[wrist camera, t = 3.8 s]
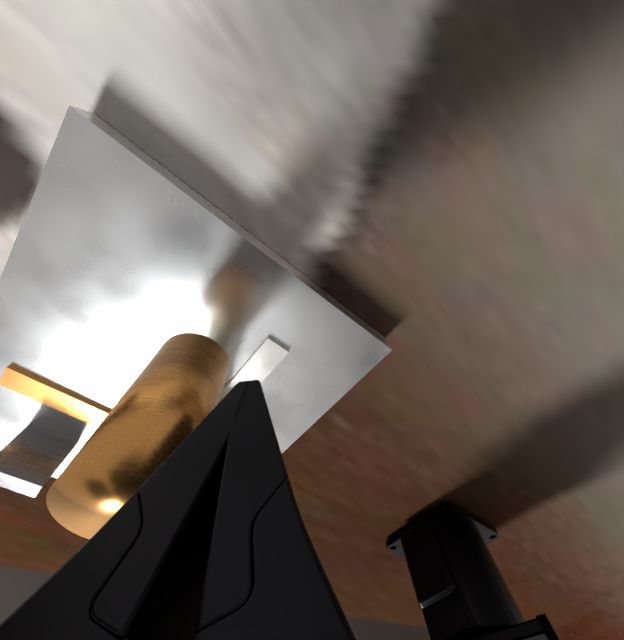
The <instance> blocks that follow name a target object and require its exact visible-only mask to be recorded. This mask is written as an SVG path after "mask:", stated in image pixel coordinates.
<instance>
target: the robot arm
mask: <svg viewBox="0 0 624 640" xmlns="http://www.w3.org/2000/svg"><path fill="white" fill-rule="evenodd" d="M138 491H139V492H135V493H134V494H133V495H132V496H131V497H130V498H129V499H128V500H127V501H126V503H125V504H124V505H123V506H122V507H121V508H120V509H119V510H118V511H117V512H116V513H115V514H114V515H113V516H112V517H111V518H110V519H109V520H108V521H107V522H106V523H105V524H104V525H103V526H102V528H101V529H100V530H99V531H98V532H97V533H96V534H95V535H94V536H93V537H92V538H91V539H90V540H89V541H88V542H86V543H85V544H84V545H83V546H82V547H81V548H80V549H79V550H78V551H77V552H76V553H75V554H74V555H73V556H72V557H71V558H70V559H69V560H68V561H67V562H66V563H65V564H64V565H63V566H62V567H61V568H60V569H58V570H57V571H56V572H55V573H54V574H53V575H52V576H51V577H50V578H49V579H48V580H47V581H46V582H45V583H44V584H43V585H41V586H40V587H39V588H38V589H37V590H36V591H35V592H34V593H33V594H32V595H31V596H30V597H29V598H28V599H27V600H26V601H24V603H22V604H21V605H20V606H19V607H18V608H17V609H16V610H15V611H14V612H13V613H12V614H11V615H10V616H9V617H8V618H7V619H5V620H4V621H3V622H2V623H1V624H0V640H356V638H355V636H354V634H353V632H352V630H351V628H350V626H349V623H348V621H347V619H346V617H345V615H344V613H343V610H342V608H341V606H340V604H339V602H338V599H337V597H336V595H335V593H334V591H333V588H332V586H331V584H330V582H329V580H328V578H327V575H326V573H325V571H324V569H323V567H322V564H321V562H320V560H319V558H318V556H317V553H316V551H315V549H314V547H313V544H312V542H311V540H310V537H309V535H308V533H307V530H306V528H305V525H304V523H303V521H302V518H301V515H300V512H299V509H298V506H297V503H296V500H295V497H294V494H293V490H292V487H291V484H290V481H289V478H288V474H287V471H286V467H285V464H284V461H283V457H282V454H281V450H280V447H279V444H278V440H277V437H276V433H275V430H274V427H273V423H272V420H271V417H270V413H269V410H268V406H267V403H266V400H265V396H264V393H263V389H262V386H261V383H260V381H259V380H252V381H241V382H238V383H237V384H236V385H235V386H234V387H233V388H232V389H231V390H230V391H229V392H228V393H227V395H226V396H225V397H224V398H223V399H222V400H221V401H220V402H219V403H218V404H217V405H216V406H215V407H214V408H213V410H212V411H211V412H210V413H209V414H208V415H207V416H206V417H205V418H204V419H203V420H202V421H201V422H200V423H199V425H198V426H197V427H196V428H195V429H194V430H193V431H192V432H191V433H190V434H189V435H188V436H187V437H186V438H185V440H184V441H183V442H182V443H181V444H180V445H179V446H178V447H177V448H176V449H175V450H174V451H173V452H172V453H171V455H170V456H169V457H168V458H167V459H166V460H165V461H164V462H163V463H162V464H161V465H160V466H159V467H158V468H157V470H156V471H155V472H154V473H153V474H152V475H151V476H150V477H149V478H148V479H147V480H146V481H145V482H144V483H143V485H142V486H141V487H140V488H139V490H138ZM498 537H499V534H498V532H497V531H496V529H495V528H493V527H492V526H490V525H488V524H486V523H485V522H483V521H481V520H479V519H478V518H476V517H474V516H472V515H471V514H469V513H467V512H465V511H464V510H462V509H460V508H458V507H457V506H455V505H453V504H451V503H444V504H442V505H440V506H438V507H437V508H435V509H434V510H432V511H431V512H429V513H428V514H426V515H425V516H423V517H422V518H420V519H419V520H417V521H416V522H414V523H413V524H411V525H410V526H408V527H407V528H405V529H404V530H402V531H401V532H399V533H398V534H396V535H395V536H393V537H392V538H390V539H388V540H387V541H386V546H387V550H389V551H391V552H393V553H395V554H397V555H400V556H402V557H404V558H406V562H407V565H408V569H409V572H410V576H411V579H412V583H413V586H414V590H415V593H416V597H417V600H418V604H419V606H420V607H421V609H422V612H423V616H424V619H425V623H426V626H427V630H428V633H429V637H430V640H561V639H560V637H559V635H558V634H557V632H556V631H555V629H554V627H553V626H552V624H551V623H550V621H549V620H548V618H547V616H546V615H545V613H544V614H541V615H538V616H536V619H532V620H529V621H526V622H525V620H524V618H523V616H522V614H521V612H520V610H519V608H518V606H517V604H516V603H515V601H514V599H513V597H512V595H511V593H510V591H509V589H508V587H507V585H506V583H505V581H504V579H503V577H502V575H501V573H500V571H499V569H498V567H497V565H496V564H495V562H494V560H493V558H492V556H491V554H490V552H489V550H488V548H487V546H486V545H487V544H488V543H490V542H492V541H494V540H495V539H497V538H498Z"/></svg>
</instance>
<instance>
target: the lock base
mask: <svg viewBox="0 0 624 640" xmlns="http://www.w3.org/2000/svg"><path fill="white" fill-rule="evenodd" d="M181 333H197V334H201V335H204V336H207V337H209V338H211V339H213V340H214V341H216V342H217V343H218V344H219V345H220V346H221V347H222V348H223V349H224V351H225V352H226V354H227V356H228V360H229V371H228V374H227V377H226V380H225V383H224V386H223V388H222V391H221V394H220V397H219V400H218V403H219V402H220V401H221V400H222V399H223V398H224V397H225V396H226V395H227V393H228V392H229V391H230V390H231V389H232V388H233V387H234V386H235V385H236V384H237V383H238V382H241V381H252V380H259V381H260V383H261V386H262V389H263V393H264V396H265V400H266V403H267V406H268V410H269V413H270V417H271V420H272V423H273V427H274V430H275V433H276V437H277V440H278V444H279V447H280V450H281V454H282V453H283V452H284V451H285V450H286V449H287V448H288V447H289V446H290V445H291V444H292V443H294V442H295V441H296V440H297V439H298V438H299V437H300V436H301V435H302V434H303V433H304V432H305V431H306V430H307V429H308V428H309V427H311V426H312V425H313V424H314V423H315V422H316V421H317V420H318V419H319V418H320V417H321V416H322V415H323V414H324V413H325V412H327V411H328V410H329V409H330V408H331V407H332V406H333V405H334V404H335V403H336V402H337V401H338V400H339V399H340V398H341V397H343V396H344V395H345V394H346V393H347V392H348V391H349V390H350V389H351V388H352V387H353V386H354V385H355V384H356V383H357V382H359V381H360V380H361V379H362V378H363V377H364V376H365V375H366V374H367V373H368V372H369V371H370V370H371V369H372V368H373V367H374V366H376V365H377V364H378V363H379V362H380V361H381V360H382V359H383V358H384V357H385V356H386V355H387V354H388V353H389V352H390V351H392V349H391V347H390V345H389V343H388V342H387V340H386V338H385V337H384V336H383V335H381V334H380V333H379V332H377V331H376V330H375V329H374V328H372V327H371V326H370V325H368V324H367V323H366V322H364V321H363V320H362V319H361V318H359V317H358V316H357V315H355V314H354V313H353V312H351V311H350V310H349V309H348V308H346V307H345V306H344V305H342V304H341V303H340V302H338V301H337V300H336V299H334V298H333V297H332V296H331V295H329V294H328V293H327V292H325V291H324V290H323V289H321V288H320V287H319V286H318V285H316V284H315V283H314V282H312V281H311V280H310V279H308V278H307V277H306V276H305V275H303V274H302V273H301V272H299V271H298V270H297V269H295V268H294V267H293V266H292V265H290V264H289V263H288V262H286V261H285V260H284V259H282V258H281V257H280V256H279V255H277V254H276V253H275V252H273V251H272V250H271V249H269V248H268V247H267V246H266V245H264V244H263V243H262V242H260V241H259V240H258V239H256V238H255V237H254V236H253V235H251V234H250V233H249V232H247V231H246V230H245V229H243V228H242V227H241V226H239V225H238V224H237V223H236V222H234V221H233V220H232V219H230V218H229V217H228V216H226V215H225V214H224V213H223V212H221V211H220V210H219V209H217V208H216V207H215V206H213V205H212V204H211V203H210V202H208V201H207V200H206V199H204V198H203V197H202V196H200V195H199V194H198V193H197V192H195V191H194V190H193V189H191V188H190V187H189V186H187V185H186V184H185V183H184V182H182V181H181V180H180V179H178V178H177V177H176V176H174V175H173V174H172V173H171V172H169V171H168V170H167V169H165V168H164V167H163V166H161V165H160V164H159V163H158V162H156V161H155V160H154V159H152V158H151V157H150V156H148V155H147V154H146V153H145V152H143V151H142V150H141V149H139V148H138V147H137V146H135V145H134V144H133V143H131V142H130V141H129V140H128V139H126V138H125V137H124V136H122V135H121V134H120V133H118V132H117V131H116V130H115V129H113V128H112V127H111V126H109V125H108V124H107V123H105V122H104V121H103V120H102V119H100V118H99V117H98V116H96V115H95V114H94V113H92V112H89V111H86V110H82V109H79V108H76V107H72V106H69V108H68V110H67V113H66V115H65V118H64V120H63V123H62V125H61V128H60V130H59V133H58V135H57V138H56V140H55V143H54V145H53V148H52V150H51V153H50V155H49V158H48V160H47V163H46V165H45V168H44V170H43V173H42V176H41V178H40V181H39V183H38V186H37V188H36V191H35V193H34V196H33V198H32V201H31V203H30V206H29V208H28V211H27V213H26V216H25V218H24V221H23V223H22V226H21V228H20V231H19V233H18V236H17V238H16V241H15V243H14V246H13V248H12V251H11V253H10V256H9V258H8V261H7V263H6V266H5V268H4V271H3V273H2V276H1V278H0V486H1V487H4V488H7V489H10V490H13V491H16V492H18V493H21V494H24V495H27V496H30V497H33V498H35V497H36V496H37V495H38V493H39V492H40V491H41V490H42V488H43V487H44V486H45V485H46V483H47V482H48V481H49V480H50V479H51V477H54V478H58V477H59V476H60V474H61V473H62V472H63V471H64V469H65V468H66V467H67V466H68V464H69V463H70V462H71V460H72V459H73V458H74V457H75V455H76V454H77V453H78V452H79V450H80V449H81V448H82V446H83V445H84V444H85V443H86V441H87V440H88V439H89V438H90V436H91V435H92V434H93V432H94V431H95V430H96V429H97V427H98V426H99V425H100V424H101V422H102V421H103V420H104V419H105V417H106V416H107V415H108V413H109V412H110V411H111V410H112V408H113V407H114V406H115V405H116V403H117V402H118V401H119V399H120V398H121V397H122V396H123V394H124V393H125V392H126V391H127V389H128V388H129V387H130V385H131V384H132V383H133V382H134V380H135V379H136V378H137V377H138V375H139V374H140V373H141V372H142V370H143V369H144V368H145V366H146V365H147V364H148V363H149V361H150V360H151V359H152V358H153V356H154V355H155V354H156V352H157V351H158V350H159V349H160V347H161V346H162V345H163V344H164V343H165V341H167V340H168V339H169V338H171V337H172V336H175V335H178V334H181ZM218 403H217V404H218Z"/></svg>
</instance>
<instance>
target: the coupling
mask: <svg viewBox="0 0 624 640" xmlns="http://www.w3.org/2000/svg"><path fill="white" fill-rule="evenodd" d="M228 371H229V360H228V356H227V354H226V352H225V351H224V349H223V348H222V347H221V346H220V345H219V344H218V343H217V342H216V341H214V340H213V339H211V338H209V337H207V336H204V335H201V334H197V333H181V334H178V335H175V336H172V337H171V338H169V339H168V340H167V341H165V343H164V344H163V345H162V346H161V347H160V349H159V350H158V351H157V352H156V354H155V355H154V356H153V358H152V359H151V360H150V361H149V363H148V364H147V365H146V366H145V368H144V369H143V370H142V372H141V373H140V374H139V375H138V377H137V378H136V379H135V380H134V382H133V383H132V384H131V385H130V387H129V388H128V389H127V391H126V392H125V393H124V394H123V396H122V397H121V398H120V399H119V401H118V402H117V403H116V405H115V406H114V407H113V408H112V410H111V411H110V412H109V413H108V415H107V416H106V417H105V419H104V420H103V421H102V422H101V424H100V425H99V426H98V427H97V429H96V430H95V431H94V432H93V434H92V435H91V436H90V438H89V439H88V440H87V441H86V443H85V444H84V445H83V446H82V448H81V449H80V450H79V452H78V453H77V454H76V455H75V457H74V458H73V459H72V460H71V462H70V463H69V464H68V466H67V467H66V468H65V469H64V471H63V472H62V473H61V474H60V476H59V477H58V478H57V479H56V481H55V482H54V483H53V485H52V486H51V487H50V489H49V491H48V493H47V498H46V502H47V507H48V509H49V511H50V513H51V515H52V516H53V517H54V518H55V520H56V521H57V522H59V523H60V524H61V525H62V526H63V527H65V528H66V529H68V530H70V531H71V532H73V533H75V534H77V535H79V536H82V537H84V538H87V539H91V538H92V537H93V536H94V535H95V534H96V533H97V532H98V531H99V530H100V529H101V528H102V526H103V525H104V524H105V523H106V522H107V521H108V520H109V519H110V518H111V517H112V516H113V515H114V514H115V513H116V512H117V511H118V510H119V509H120V508H121V507H122V506H123V505H124V504H125V503H126V501H127V500H128V499H129V498H130V497H131V496H132V495H133V494H134V493H135V492H139V491H138V490H139V488H140V487H141V486H142V485H143V483H144V482H145V481H146V480H147V479H148V478H149V477H150V476H151V475H152V474H153V473H154V472H155V471H156V470H157V468H158V467H159V466H160V465H161V464H162V463H163V462H164V461H165V460H166V459H167V458H168V457H169V456H170V455H171V453H172V452H173V451H174V450H175V449H176V448H177V447H178V446H179V445H180V444H181V443H182V442H183V441H184V440H185V438H186V437H187V436H188V435H189V434H190V433H191V432H192V431H193V430H194V429H195V428H196V427H197V426H198V425H199V423H200V422H201V421H202V420H203V419H204V418H205V417H206V416H207V415H208V414H209V413H210V412H211V411H212V410H213V408H214V407H215V406H216V405H217V403H218V400H219V397H220V394H221V391H222V388H223V386H224V383H225V380H226V377H227V374H228Z"/></svg>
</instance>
